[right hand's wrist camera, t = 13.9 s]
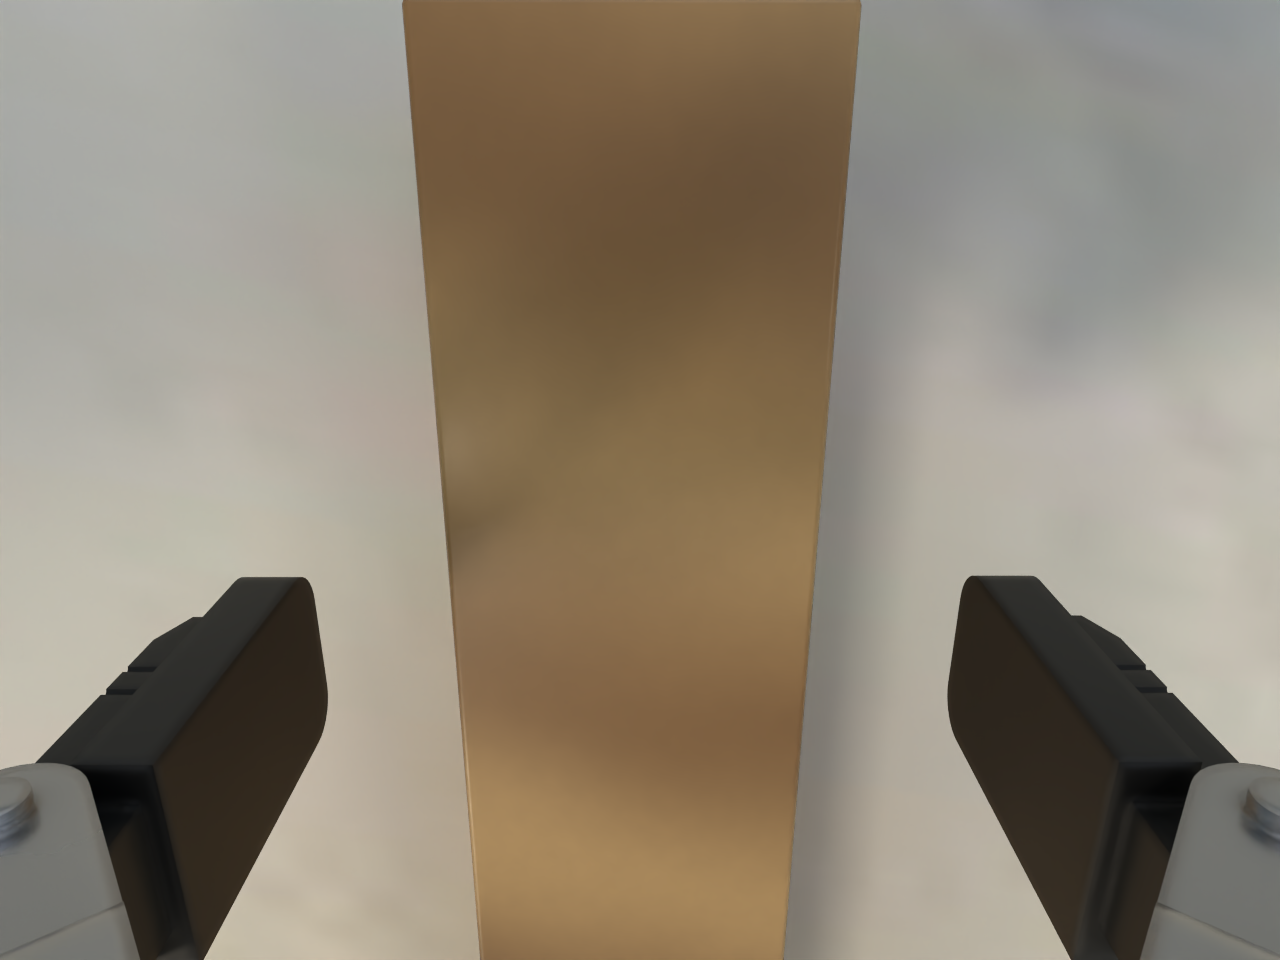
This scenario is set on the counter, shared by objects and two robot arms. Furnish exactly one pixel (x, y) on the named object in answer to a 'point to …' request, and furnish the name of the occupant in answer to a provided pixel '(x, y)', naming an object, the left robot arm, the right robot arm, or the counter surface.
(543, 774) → the beam
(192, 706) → the right robot arm
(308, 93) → the counter surface
